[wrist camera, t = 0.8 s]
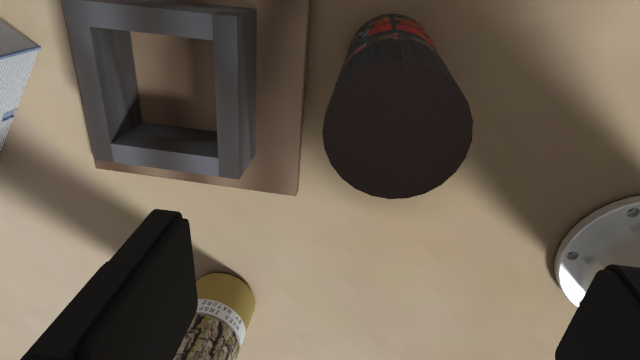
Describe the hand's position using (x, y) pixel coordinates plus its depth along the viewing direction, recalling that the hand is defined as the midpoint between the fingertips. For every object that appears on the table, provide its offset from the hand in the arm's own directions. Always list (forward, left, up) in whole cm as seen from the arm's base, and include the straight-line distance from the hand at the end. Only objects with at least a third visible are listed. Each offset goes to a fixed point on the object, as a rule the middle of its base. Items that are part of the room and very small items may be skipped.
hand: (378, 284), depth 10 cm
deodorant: (-1, -1, -23) cm, 23 cm away
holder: (+14, +2, -23) cm, 27 cm away
